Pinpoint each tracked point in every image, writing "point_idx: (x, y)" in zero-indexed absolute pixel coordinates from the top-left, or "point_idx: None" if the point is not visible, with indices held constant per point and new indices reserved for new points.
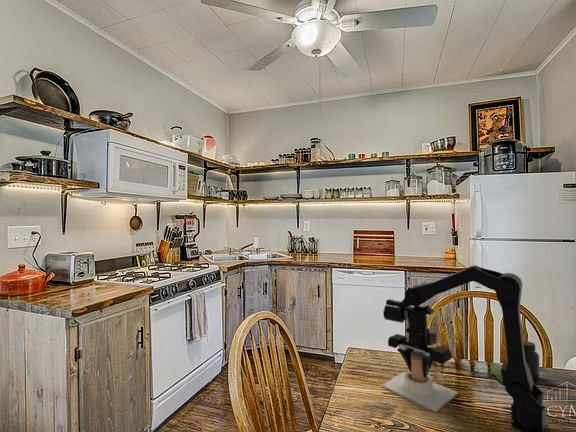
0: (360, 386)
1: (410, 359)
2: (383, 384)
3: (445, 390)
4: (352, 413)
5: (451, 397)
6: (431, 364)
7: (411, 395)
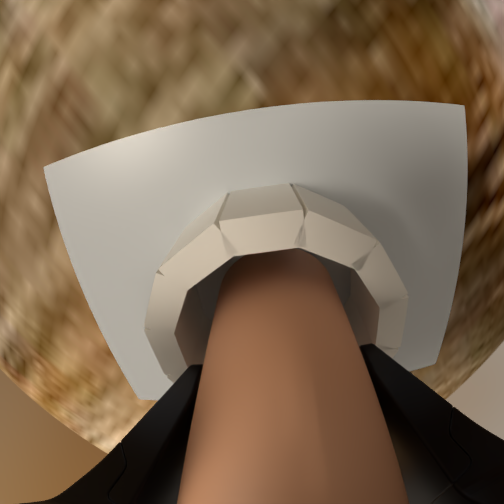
0: (111, 423)
1: (176, 497)
2: (137, 391)
3: (414, 148)
4: None
5: (464, 200)
6: (478, 434)
7: None
